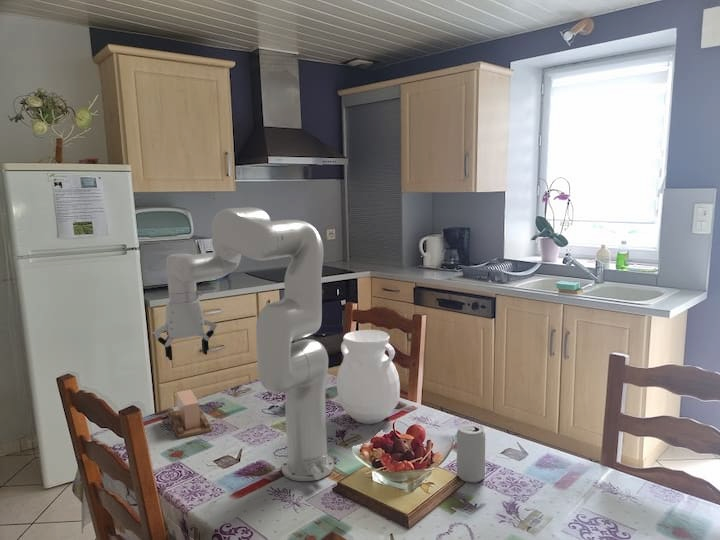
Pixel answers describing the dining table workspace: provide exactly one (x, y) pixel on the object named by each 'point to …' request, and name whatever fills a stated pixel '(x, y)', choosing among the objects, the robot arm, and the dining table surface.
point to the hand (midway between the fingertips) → (187, 356)
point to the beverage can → (471, 452)
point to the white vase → (368, 376)
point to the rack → (183, 432)
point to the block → (188, 409)
